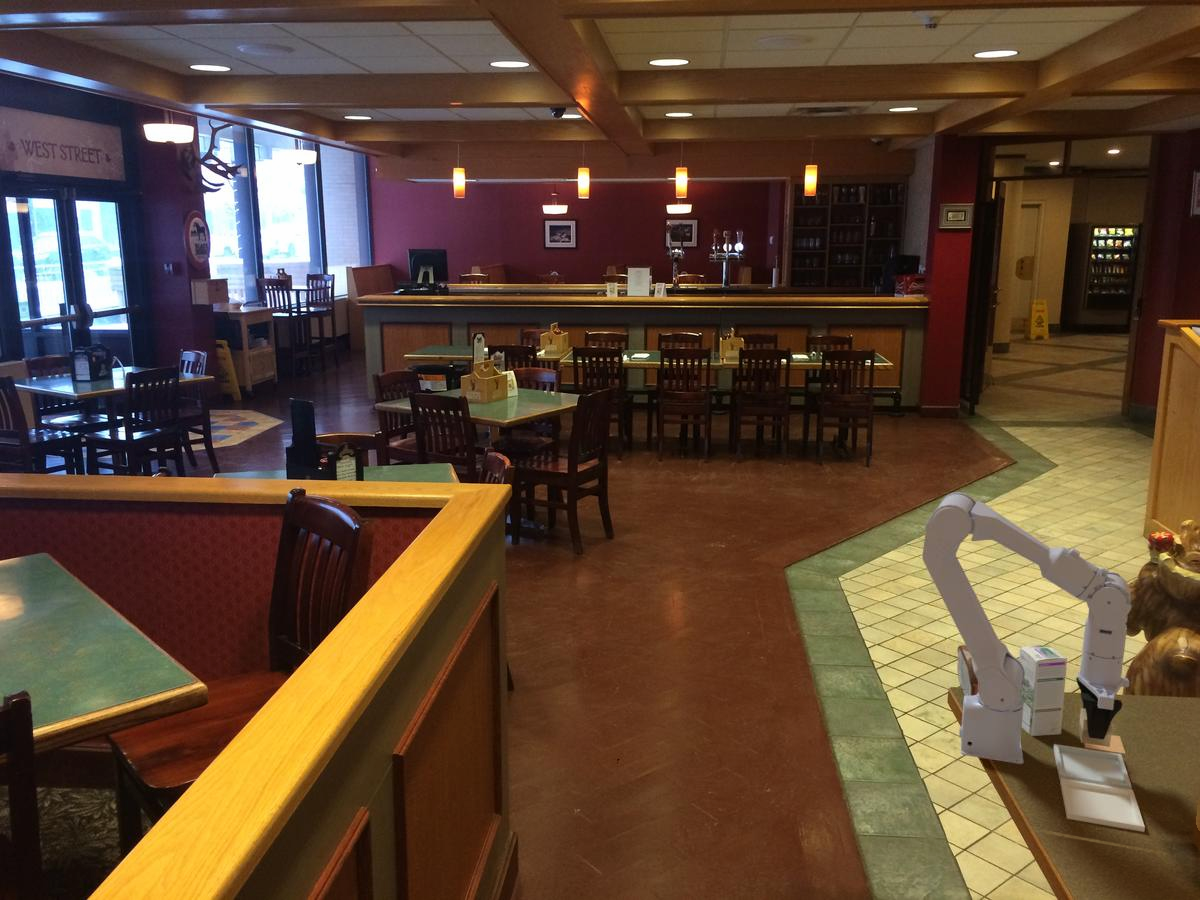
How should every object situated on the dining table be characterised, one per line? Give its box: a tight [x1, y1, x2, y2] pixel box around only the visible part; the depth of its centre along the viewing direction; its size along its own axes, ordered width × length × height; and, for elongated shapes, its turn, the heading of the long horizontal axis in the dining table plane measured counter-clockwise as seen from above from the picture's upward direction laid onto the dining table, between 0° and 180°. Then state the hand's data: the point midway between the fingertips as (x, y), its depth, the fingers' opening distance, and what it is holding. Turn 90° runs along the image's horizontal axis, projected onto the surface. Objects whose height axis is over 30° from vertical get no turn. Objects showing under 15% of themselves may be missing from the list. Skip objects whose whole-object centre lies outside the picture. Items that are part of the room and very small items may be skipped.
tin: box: [957, 644, 978, 697], centre depth 177 cm, size 15×3×8 cm, turn 168°
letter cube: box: [1077, 707, 1113, 747], centre depth 150 cm, size 4×4×4 cm
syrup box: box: [1018, 644, 1068, 737], centre depth 163 cm, size 6×6×14 cm
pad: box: [1083, 734, 1126, 755], centre depth 159 cm, size 6×6×1 cm
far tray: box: [1053, 743, 1132, 790], centre depth 151 cm, size 10×10×1 cm
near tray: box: [1059, 778, 1146, 833], centre depth 141 cm, size 10×10×1 cm
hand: (1094, 730), depth 150 cm, fingers closed on letter cube, 4 cm apart
